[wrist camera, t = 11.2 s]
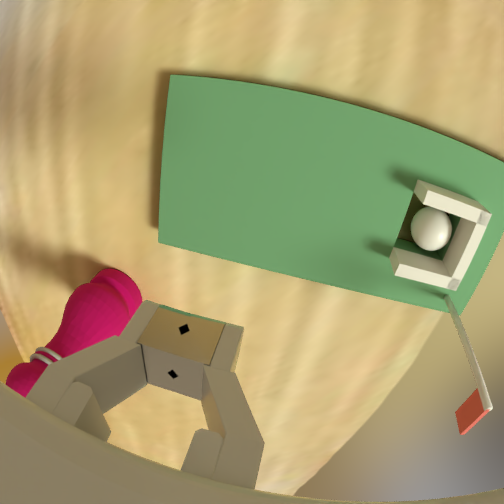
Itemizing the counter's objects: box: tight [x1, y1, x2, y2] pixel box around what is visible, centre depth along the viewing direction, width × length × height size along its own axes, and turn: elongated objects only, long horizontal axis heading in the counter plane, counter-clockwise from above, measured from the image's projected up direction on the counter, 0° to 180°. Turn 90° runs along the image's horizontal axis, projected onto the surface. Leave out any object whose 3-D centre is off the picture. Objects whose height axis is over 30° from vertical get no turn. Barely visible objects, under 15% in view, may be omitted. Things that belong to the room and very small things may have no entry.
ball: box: [411, 206, 452, 251], centre depth 22 cm, size 3×3×3 cm
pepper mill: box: [6, 269, 142, 398], centre depth 26 cm, size 7×7×20 cm
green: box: [158, 75, 504, 435], centre depth 19 cm, size 16×28×14 cm, turn 81°
